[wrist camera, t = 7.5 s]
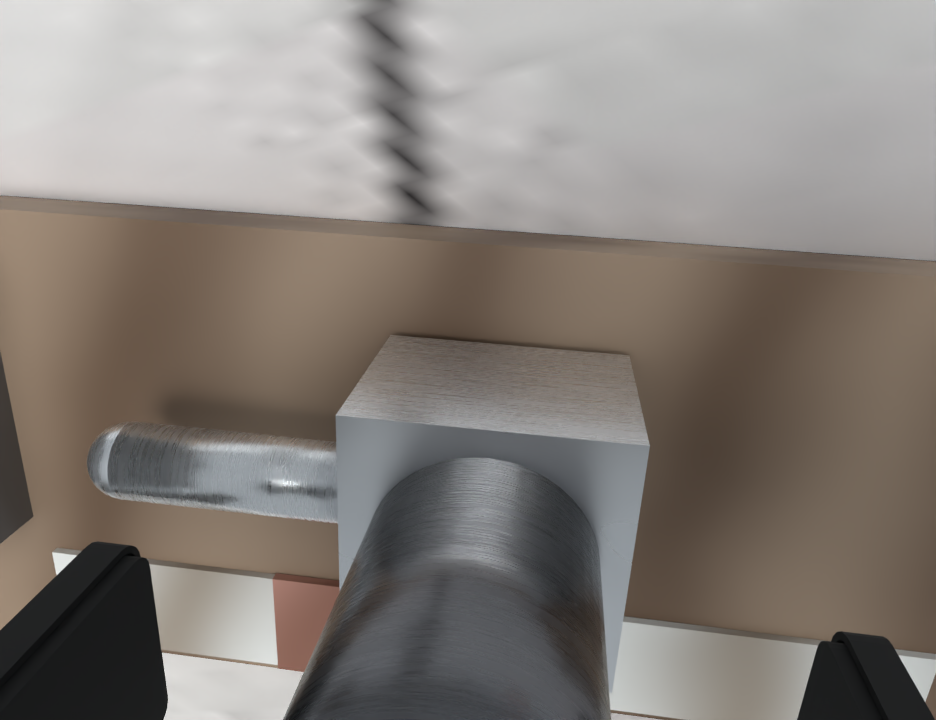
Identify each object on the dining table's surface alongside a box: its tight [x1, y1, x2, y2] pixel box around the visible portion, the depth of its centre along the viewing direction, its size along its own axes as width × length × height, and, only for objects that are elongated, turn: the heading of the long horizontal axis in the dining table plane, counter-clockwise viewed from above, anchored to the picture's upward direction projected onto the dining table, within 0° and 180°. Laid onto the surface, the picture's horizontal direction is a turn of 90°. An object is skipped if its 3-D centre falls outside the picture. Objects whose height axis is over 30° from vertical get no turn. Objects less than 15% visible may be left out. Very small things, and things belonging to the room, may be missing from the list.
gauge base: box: [0, 196, 936, 720], centre depth 15 cm, size 28×12×8 cm, turn 87°
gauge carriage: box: [87, 335, 650, 720], centre depth 12 cm, size 11×9×11 cm
